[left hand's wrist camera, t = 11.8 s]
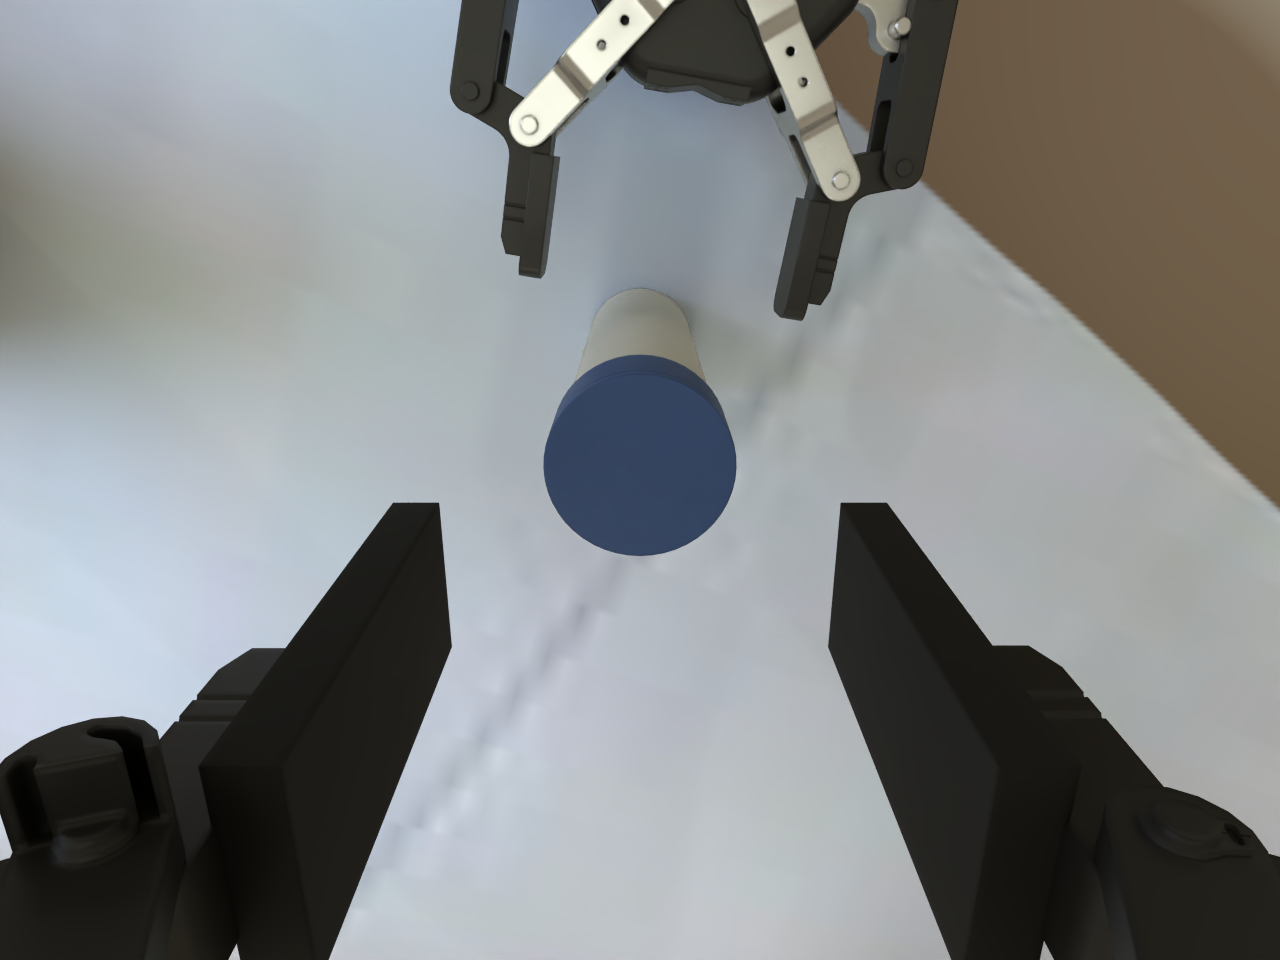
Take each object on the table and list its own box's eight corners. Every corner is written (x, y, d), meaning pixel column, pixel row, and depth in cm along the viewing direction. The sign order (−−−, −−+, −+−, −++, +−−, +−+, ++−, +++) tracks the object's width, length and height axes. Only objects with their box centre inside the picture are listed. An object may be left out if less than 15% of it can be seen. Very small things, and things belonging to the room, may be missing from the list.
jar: (707, 357, 35) (756, 492, 20) (621, 405, 35) (609, 569, 21) (658, 268, 33) (673, 345, 19) (571, 320, 34) (520, 432, 20)
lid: (758, 470, 22) (770, 501, 20) (609, 549, 23) (606, 587, 20) (673, 320, 20) (677, 337, 18) (518, 409, 21) (505, 435, 19)
